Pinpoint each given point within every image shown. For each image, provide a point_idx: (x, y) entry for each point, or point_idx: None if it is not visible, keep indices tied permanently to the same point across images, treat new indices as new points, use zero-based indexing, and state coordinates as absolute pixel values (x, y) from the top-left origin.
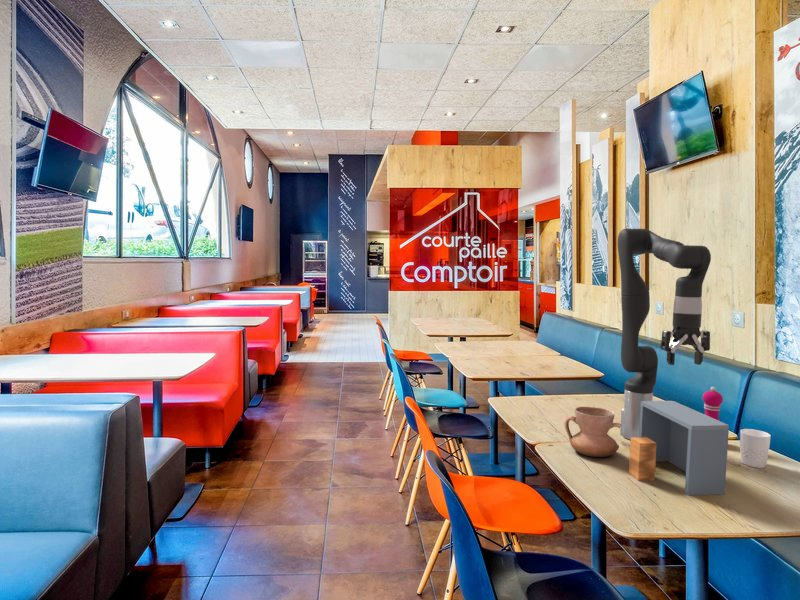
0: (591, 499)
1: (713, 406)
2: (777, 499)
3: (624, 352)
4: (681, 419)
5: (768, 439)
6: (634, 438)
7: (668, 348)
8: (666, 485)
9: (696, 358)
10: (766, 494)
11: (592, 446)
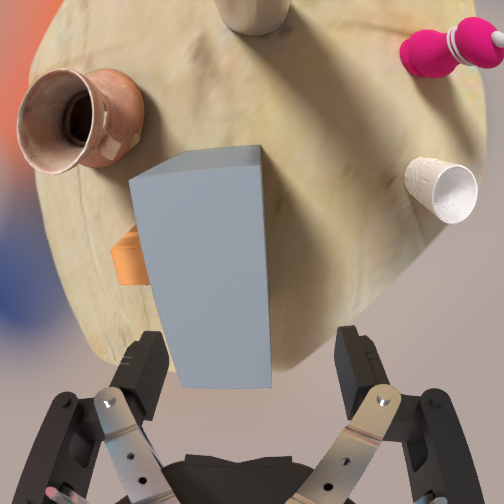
0: (75, 302)
1: (464, 57)
2: (339, 311)
3: None
4: (178, 356)
5: (457, 219)
6: (116, 256)
7: (97, 441)
8: None
9: (343, 367)
10: (337, 297)
11: (79, 163)
